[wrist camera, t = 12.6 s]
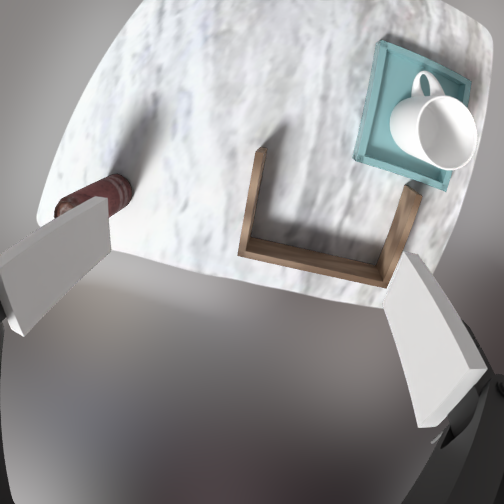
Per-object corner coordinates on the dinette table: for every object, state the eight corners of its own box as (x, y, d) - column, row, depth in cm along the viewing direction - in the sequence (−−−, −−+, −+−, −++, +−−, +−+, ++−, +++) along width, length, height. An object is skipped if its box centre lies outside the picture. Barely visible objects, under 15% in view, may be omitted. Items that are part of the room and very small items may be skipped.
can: (139, 201, 46) (90, 235, 34) (112, 210, 48) (62, 244, 35) (127, 168, 44) (73, 192, 31) (100, 179, 45) (46, 206, 33)
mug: (434, 77, 30) (471, 71, 20) (440, 155, 35) (478, 170, 25) (381, 73, 31) (408, 62, 22) (390, 155, 36) (418, 170, 27)
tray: (376, 43, 30) (380, 39, 27) (463, 82, 29) (471, 81, 27) (352, 158, 38) (355, 161, 36) (438, 187, 37) (446, 191, 35)
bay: (260, 147, 40) (255, 151, 35) (410, 186, 38) (422, 196, 34) (243, 241, 47) (237, 255, 42) (379, 271, 45) (386, 288, 41)
